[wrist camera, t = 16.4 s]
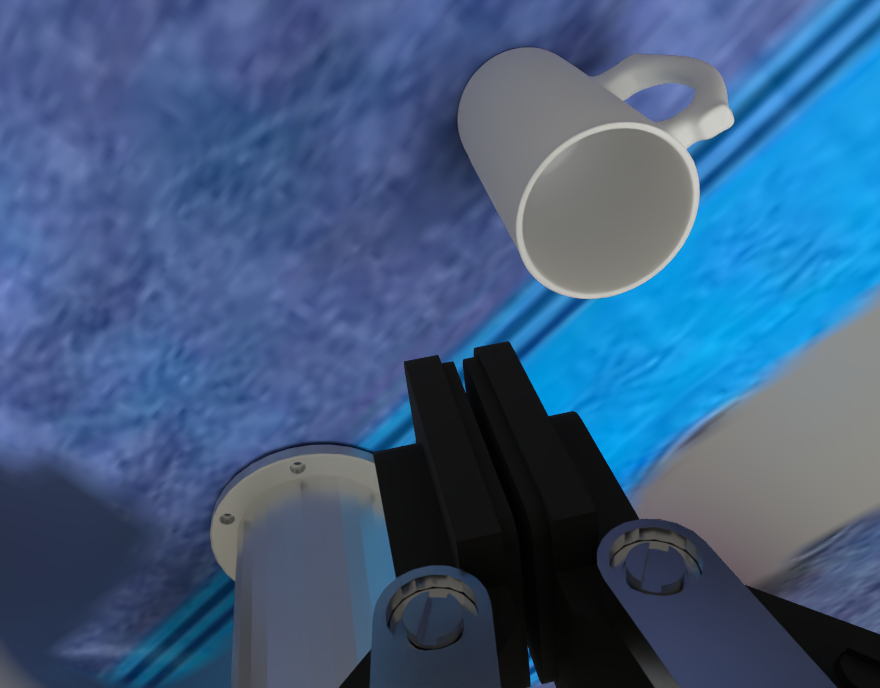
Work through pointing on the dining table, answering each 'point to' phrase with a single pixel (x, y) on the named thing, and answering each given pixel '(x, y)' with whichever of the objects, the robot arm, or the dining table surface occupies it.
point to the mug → (589, 163)
